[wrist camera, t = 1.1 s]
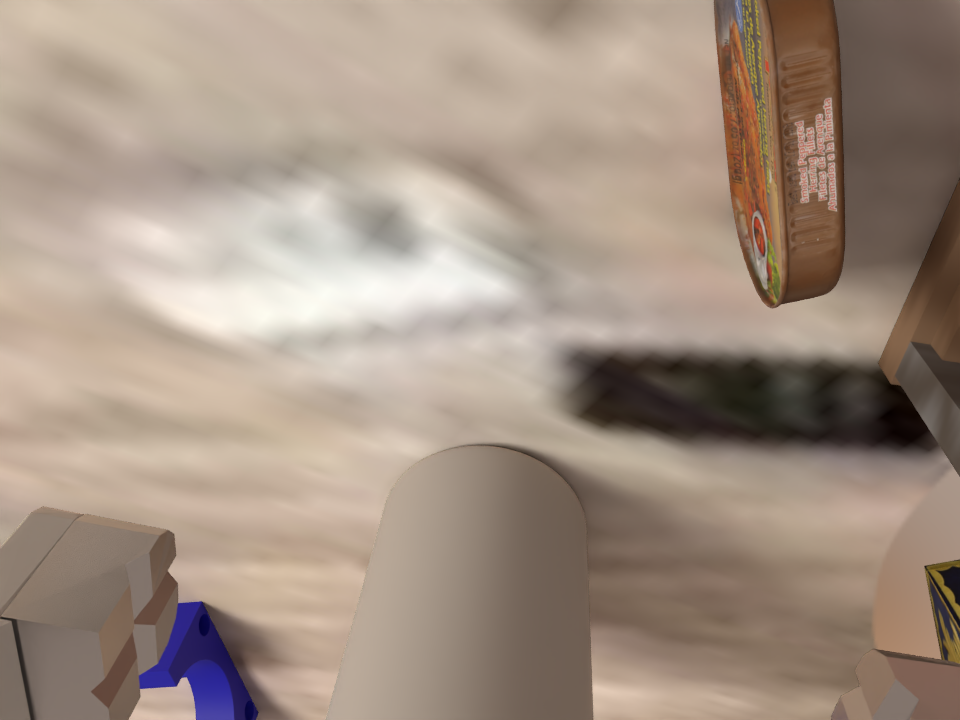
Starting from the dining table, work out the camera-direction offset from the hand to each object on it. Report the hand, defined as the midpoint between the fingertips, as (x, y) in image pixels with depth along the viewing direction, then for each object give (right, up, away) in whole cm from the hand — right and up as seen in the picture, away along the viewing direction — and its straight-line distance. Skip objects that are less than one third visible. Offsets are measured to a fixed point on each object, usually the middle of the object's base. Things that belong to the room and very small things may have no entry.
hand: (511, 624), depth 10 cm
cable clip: (-21, -19, +52) cm, 59 cm away
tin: (+12, +15, +28) cm, 34 cm away
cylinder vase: (0, -7, +42) cm, 43 cm away
